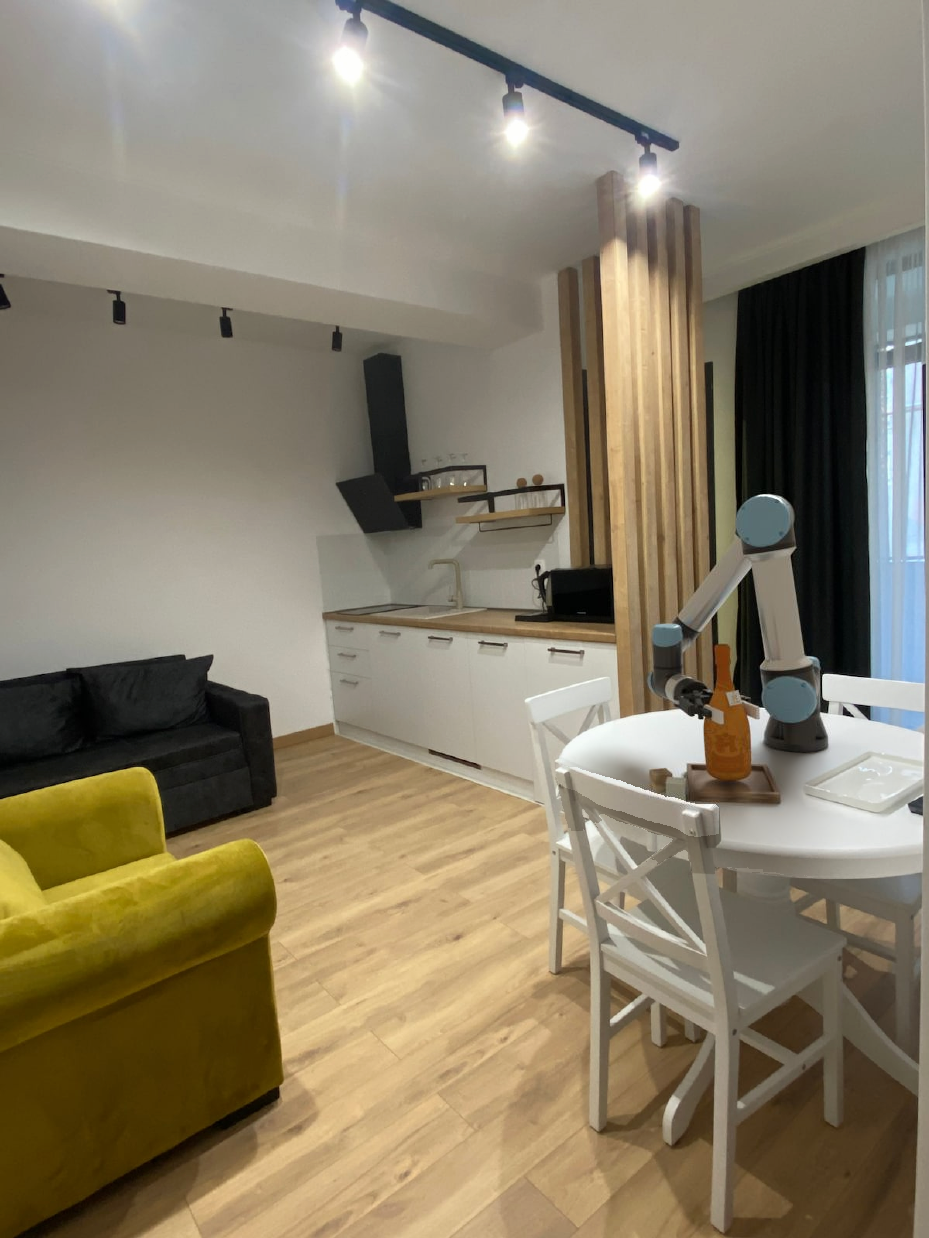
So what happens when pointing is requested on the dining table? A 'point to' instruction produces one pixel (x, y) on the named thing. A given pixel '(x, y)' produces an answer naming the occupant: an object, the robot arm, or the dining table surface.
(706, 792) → the tray
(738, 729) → the wine bottle
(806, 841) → the dining table surface
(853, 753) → the dining table surface
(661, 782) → the oak block
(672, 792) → the pale grey cube
